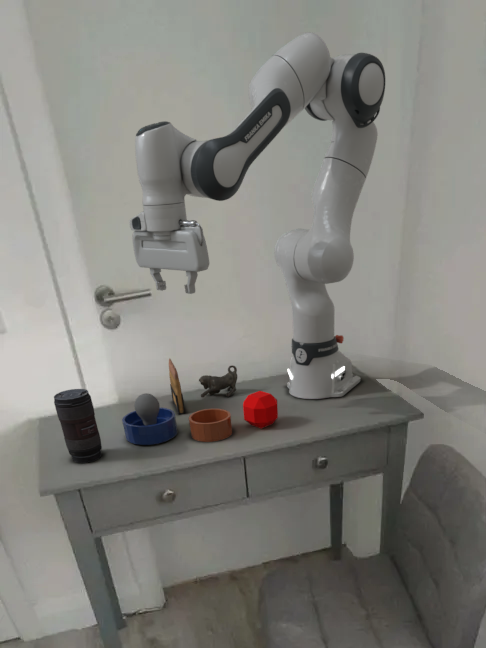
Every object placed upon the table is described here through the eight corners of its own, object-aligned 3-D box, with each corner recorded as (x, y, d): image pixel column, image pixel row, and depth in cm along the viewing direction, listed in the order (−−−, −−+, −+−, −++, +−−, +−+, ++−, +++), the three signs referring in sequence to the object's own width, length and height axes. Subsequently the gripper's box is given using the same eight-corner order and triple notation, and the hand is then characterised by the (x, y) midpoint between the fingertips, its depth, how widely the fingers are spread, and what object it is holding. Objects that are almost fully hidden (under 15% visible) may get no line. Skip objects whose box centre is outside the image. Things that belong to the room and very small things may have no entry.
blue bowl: (153, 423, 158) (150, 404, 155) (188, 432, 152) (185, 413, 149) (115, 439, 151) (111, 420, 148) (150, 450, 144) (146, 430, 141)
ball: (262, 416, 158) (260, 386, 153) (284, 423, 153) (282, 393, 148) (239, 425, 153) (236, 395, 149) (261, 433, 148) (258, 402, 144)
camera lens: (105, 448, 147) (90, 386, 138) (103, 462, 140) (88, 397, 131) (71, 452, 146) (54, 389, 137) (68, 466, 140) (50, 401, 131)
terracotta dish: (211, 423, 156) (208, 405, 153) (240, 430, 150) (239, 413, 148) (182, 436, 150) (180, 418, 147) (212, 445, 144) (210, 426, 142)
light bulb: (137, 432, 152) (129, 392, 146) (160, 427, 154) (153, 388, 148) (143, 440, 148) (135, 400, 142) (167, 435, 149) (160, 395, 143)
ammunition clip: (185, 413, 163) (178, 367, 155) (178, 414, 162) (171, 368, 155) (179, 400, 171) (172, 356, 164) (172, 401, 171) (165, 357, 163)
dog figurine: (234, 388, 177) (232, 362, 172) (242, 394, 172) (239, 367, 168) (195, 396, 173) (192, 369, 169) (202, 402, 169) (198, 375, 164)
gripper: (211, 218, 125) (218, 292, 133) (145, 217, 136) (156, 285, 144) (190, 222, 121) (198, 298, 129) (123, 220, 132) (136, 290, 140)
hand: (175, 291), depth 137 cm, fingers open, 8 cm apart
